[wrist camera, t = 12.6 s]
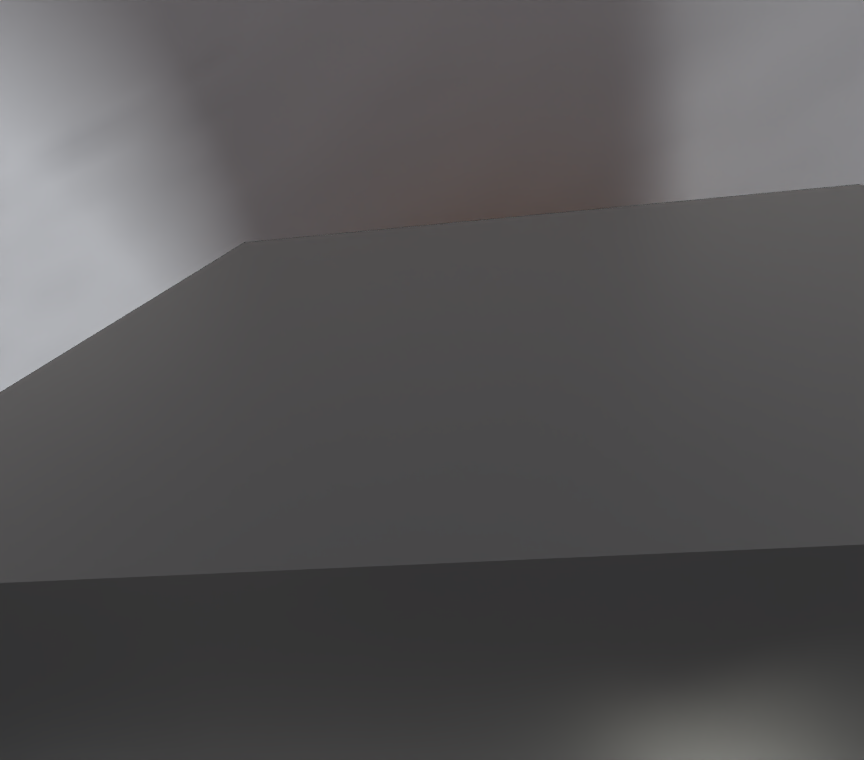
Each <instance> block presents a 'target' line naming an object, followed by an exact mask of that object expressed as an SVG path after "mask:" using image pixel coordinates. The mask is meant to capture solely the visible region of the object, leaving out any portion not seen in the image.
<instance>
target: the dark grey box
mask: <svg viewBox="0 0 864 760" xmlns="http://www.w3.org/2000/svg"><path fill="white" fill-rule="evenodd" d="M0 760H864V185H860V184H856V185H845V186H835V187H824V188H813V189H803V190H792V191H782V192H771V193H761V194H750V195H740V196H729V197H719V198H708V199H697V200H687V201H676V202H666V203H655V204H645V205H634V206H624V207H613V208H602V209H592V210H581V211H571V212H560V213H550V214H539V215H529V216H518V217H507V218H497V219H486V220H476V221H465V222H455V223H444V224H434V225H423V226H413V227H402V228H391V229H381V230H370V231H360V232H349V233H339V234H328V235H318V236H307V237H296V238H286V239H275V240H265V241H254V242H244V243H243V244H241V245H239V246H238V247H236V248H234V249H233V250H231V251H230V252H228V253H226V254H225V255H223V256H221V257H220V258H218V259H216V260H215V261H213V262H212V263H210V264H208V265H207V266H205V267H203V268H202V269H200V270H199V271H197V272H195V273H194V274H192V275H190V276H189V277H187V278H185V279H184V280H182V281H181V282H179V283H177V284H176V285H174V286H172V287H171V288H169V289H168V290H166V291H164V292H163V293H161V294H159V295H158V296H156V297H155V298H153V299H151V300H150V301H148V302H146V303H145V304H143V305H141V306H140V307H138V308H137V309H135V310H133V311H132V312H130V313H128V314H127V315H125V316H124V317H122V318H120V319H119V320H117V321H115V322H114V323H112V324H111V325H109V326H107V327H106V328H104V329H102V330H101V331H99V332H97V333H96V334H94V335H93V336H91V337H89V338H88V339H86V340H84V341H83V342H81V343H80V344H78V345H76V346H75V347H73V348H71V349H70V350H68V351H66V352H65V353H63V354H62V355H60V356H58V357H57V358H55V359H53V360H52V361H50V362H49V363H47V364H45V365H44V366H42V367H40V368H39V369H37V370H36V371H34V372H32V373H31V374H29V375H27V376H26V377H24V378H22V379H21V380H19V381H18V382H16V383H14V384H13V385H11V386H9V387H8V388H6V389H5V390H3V391H1V392H0Z"/></svg>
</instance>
